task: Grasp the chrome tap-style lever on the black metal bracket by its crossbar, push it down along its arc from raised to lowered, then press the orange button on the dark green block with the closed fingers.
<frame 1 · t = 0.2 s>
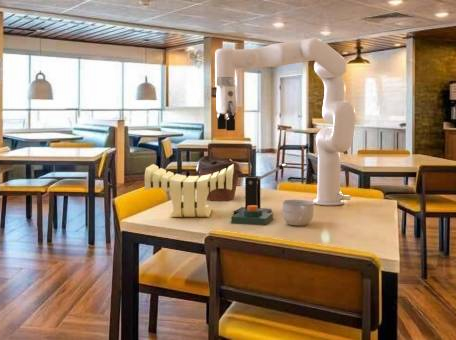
hand: (226, 129, 199), 31 cm above the table, tool pointing down, fingers open, 9 cm apart
button block: (252, 221, 188), on the table
lever: (267, 174, 199), point 15 cm above the table, hinge at 28.0°
slatted curved stool: (191, 214, 198), on the table
teacup: (298, 225, 183), on the table
bracket: (252, 213, 202), on the table
button: (252, 208, 188), point 4 cm above the table, slide at 0.1 cm
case: (220, 198, 232), on the table
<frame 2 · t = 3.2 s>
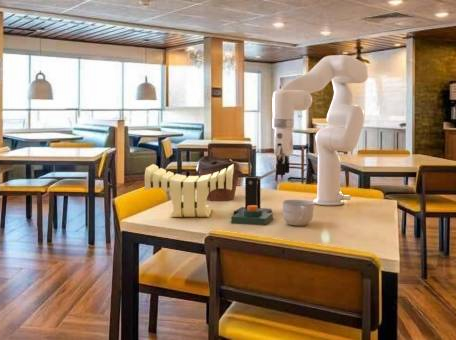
hand: (282, 173, 198), 16 cm above the table, tool pointing down, fingers closed on lever, 5 cm apart
lever: (267, 174, 199), point 15 cm above the table, hinge at 28.0°, touching gripper
everything else where it was.
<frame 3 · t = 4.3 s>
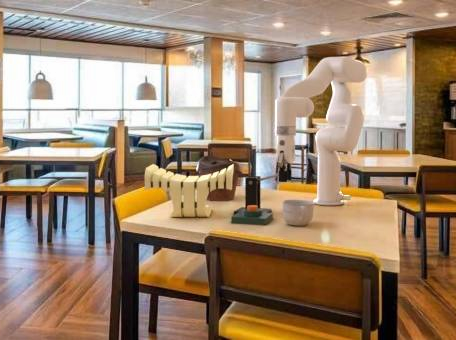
hand: (285, 180, 198), 13 cm above the table, tool pointing down, fingers closed on lever, 5 cm apart
lever: (268, 177, 199), point 14 cm above the table, hinge at 16.7°, touching gripper
everything else where it was.
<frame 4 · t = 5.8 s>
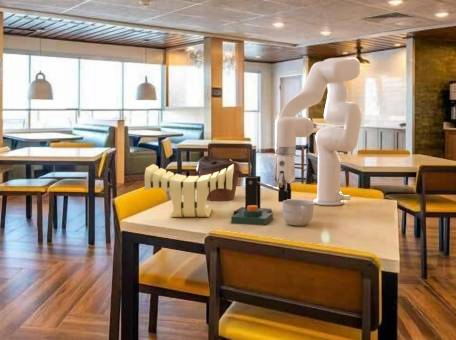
hand: (284, 199, 199), 6 cm above the table, tool pointing down, fingers closed on lever, 5 cm apart
lever: (268, 186, 199), point 10 cm above the table, hinge at -14.8°, touching gripper
everything else where it was.
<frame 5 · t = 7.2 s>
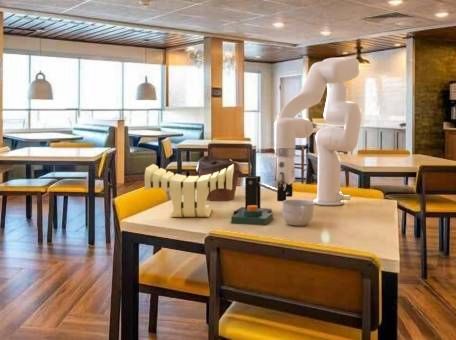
hand: (285, 198, 199), 6 cm above the table, tool pointing down, fingers open, 9 cm apart
lever: (268, 187, 199), point 10 cm above the table, hinge at -17.8°
everything else where it was.
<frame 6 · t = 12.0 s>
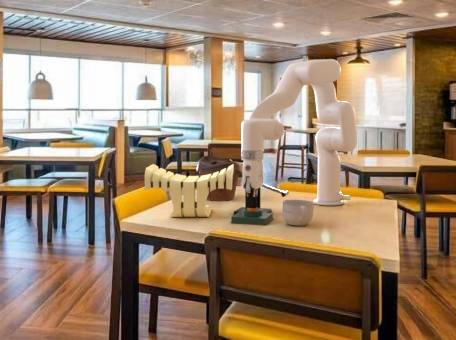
hand: (252, 207, 188), 5 cm above the table, tool pointing down, fingers closed
button: (252, 210, 188), point 4 cm above the table, slide at -0.5 cm, touching gripper
everything else where it was.
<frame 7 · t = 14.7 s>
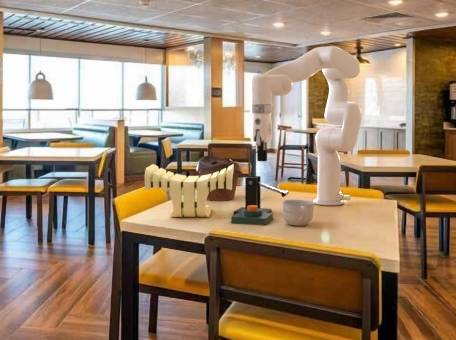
hand: (262, 160, 194), 20 cm above the table, tool pointing down, fingers closed
button: (252, 208, 188), point 4 cm above the table, slide at 0.1 cm
everything else where it was.
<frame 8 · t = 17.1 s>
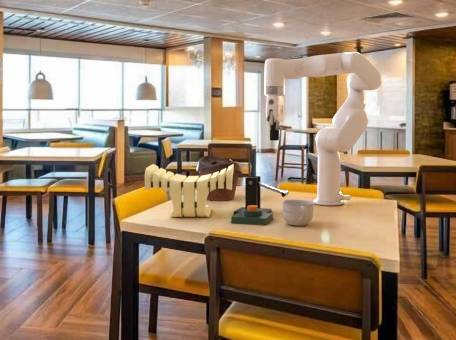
hand: (274, 140, 205), 27 cm above the table, tool pointing down, fingers closed
nothing on the table moved.
at the end: lever at -18° (first picture: +28°); button pushed in 1.1 cm at the most during the clip, back to where it started at the end; button slide at 0.1 cm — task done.
